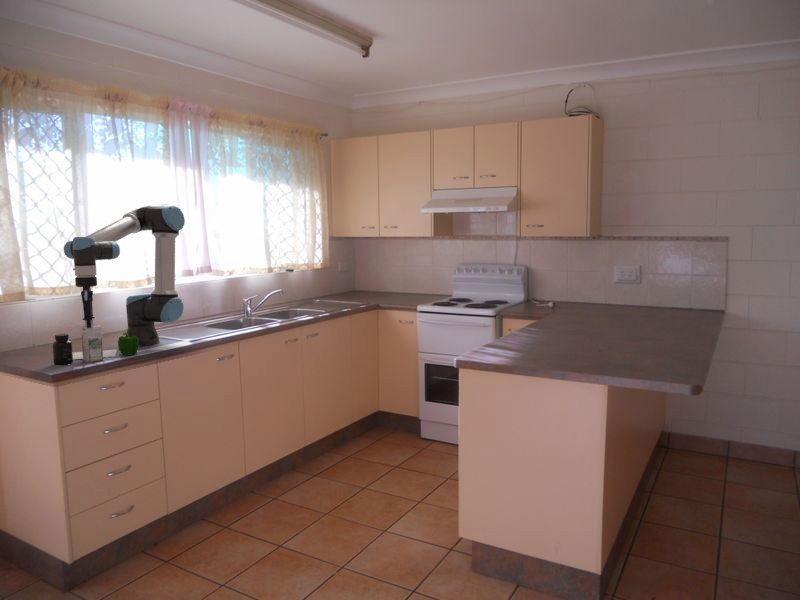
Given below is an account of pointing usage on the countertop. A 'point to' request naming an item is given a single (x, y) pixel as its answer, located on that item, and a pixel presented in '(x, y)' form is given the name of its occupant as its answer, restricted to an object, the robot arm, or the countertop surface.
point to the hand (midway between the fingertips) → (89, 335)
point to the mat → (105, 354)
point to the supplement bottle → (62, 350)
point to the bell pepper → (128, 344)
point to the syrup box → (92, 344)
